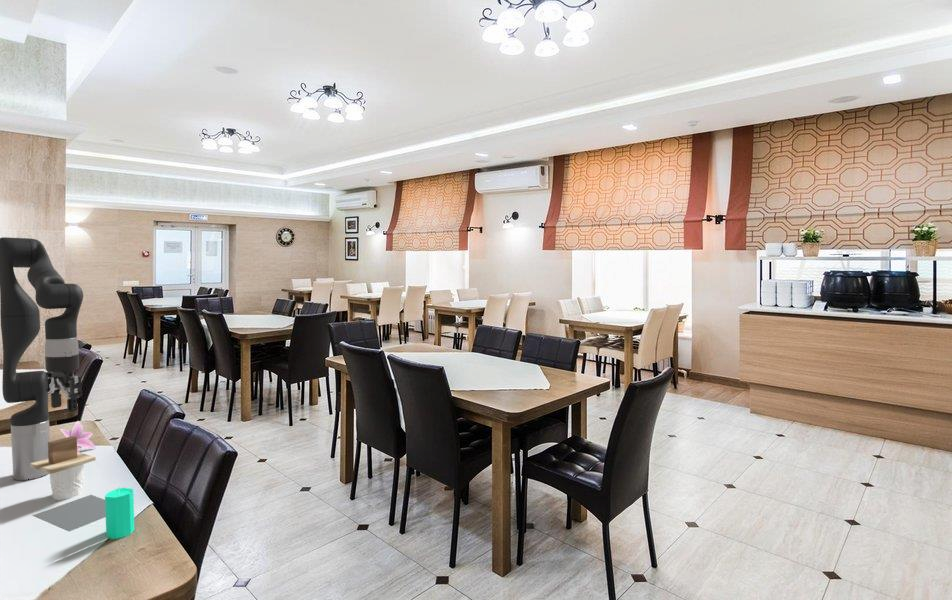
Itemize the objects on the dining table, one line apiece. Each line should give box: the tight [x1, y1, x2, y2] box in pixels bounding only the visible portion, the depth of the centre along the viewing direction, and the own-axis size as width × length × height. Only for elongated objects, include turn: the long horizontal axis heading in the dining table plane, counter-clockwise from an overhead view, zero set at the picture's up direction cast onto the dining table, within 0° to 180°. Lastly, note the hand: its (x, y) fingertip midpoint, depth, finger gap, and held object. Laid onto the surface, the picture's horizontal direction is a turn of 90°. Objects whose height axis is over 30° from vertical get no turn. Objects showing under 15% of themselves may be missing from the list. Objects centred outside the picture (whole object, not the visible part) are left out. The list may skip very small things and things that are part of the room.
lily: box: [59, 420, 96, 453], centre depth 186 cm, size 12×12×10 cm
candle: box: [104, 487, 135, 540], centre depth 130 cm, size 6×6×12 cm
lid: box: [30, 436, 97, 474], centre depth 148 cm, size 11×11×7 cm
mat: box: [32, 494, 106, 532], centre depth 140 cm, size 18×14×1 cm
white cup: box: [49, 464, 85, 501], centre depth 150 cm, size 8×8×10 cm
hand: (64, 409), depth 148 cm, fingers open, 8 cm apart
